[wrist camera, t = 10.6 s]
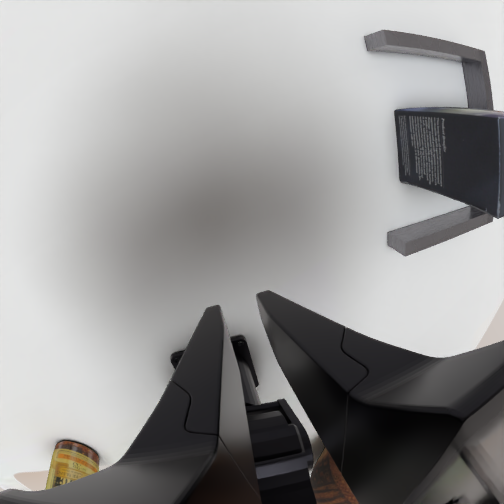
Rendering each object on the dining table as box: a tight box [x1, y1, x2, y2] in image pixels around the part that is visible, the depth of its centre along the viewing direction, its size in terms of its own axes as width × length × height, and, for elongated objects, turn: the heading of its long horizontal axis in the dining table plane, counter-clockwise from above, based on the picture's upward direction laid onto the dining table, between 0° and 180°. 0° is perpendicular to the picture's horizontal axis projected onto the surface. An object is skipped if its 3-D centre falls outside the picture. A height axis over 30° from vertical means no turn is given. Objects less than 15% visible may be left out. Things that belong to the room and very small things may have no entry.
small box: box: [395, 107, 504, 219], centre depth 17 cm, size 11×6×10 cm, turn 101°
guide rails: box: [364, 30, 493, 256], centre depth 20 cm, size 17×13×2 cm
